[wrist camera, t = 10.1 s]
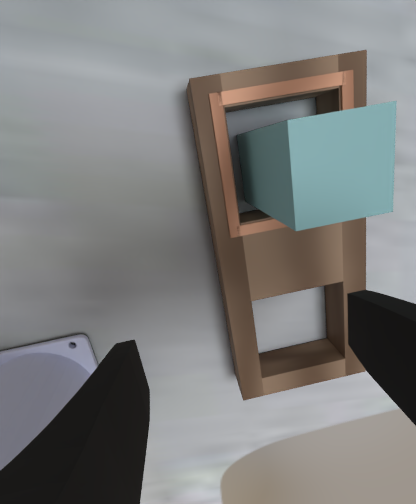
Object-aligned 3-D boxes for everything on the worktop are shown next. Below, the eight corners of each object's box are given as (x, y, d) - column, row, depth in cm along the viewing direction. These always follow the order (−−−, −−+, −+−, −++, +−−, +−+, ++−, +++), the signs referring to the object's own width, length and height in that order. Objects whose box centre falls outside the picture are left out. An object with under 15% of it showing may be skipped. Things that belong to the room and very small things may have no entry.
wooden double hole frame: (235, 375, 23) (243, 401, 21) (186, 89, 17) (189, 77, 14) (345, 349, 24) (366, 372, 21) (339, 64, 17) (368, 48, 15)
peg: (245, 201, 19) (295, 231, 12) (236, 135, 18) (287, 120, 10) (305, 189, 19) (392, 211, 12) (301, 123, 18) (396, 100, 11)
